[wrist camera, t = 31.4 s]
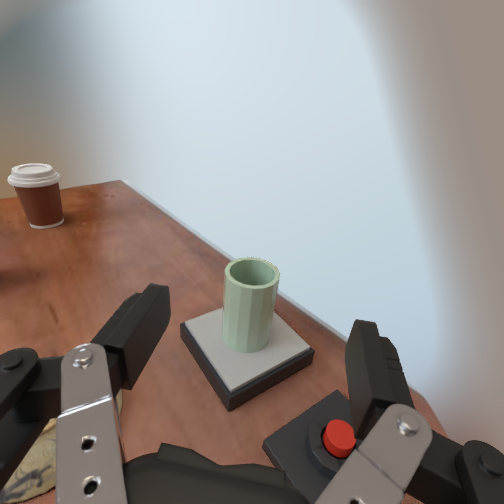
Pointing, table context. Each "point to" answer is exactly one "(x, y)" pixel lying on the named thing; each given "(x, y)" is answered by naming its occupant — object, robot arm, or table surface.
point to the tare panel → (310, 446)
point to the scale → (244, 358)
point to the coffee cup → (38, 194)
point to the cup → (248, 303)
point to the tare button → (339, 438)
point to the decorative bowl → (37, 466)
